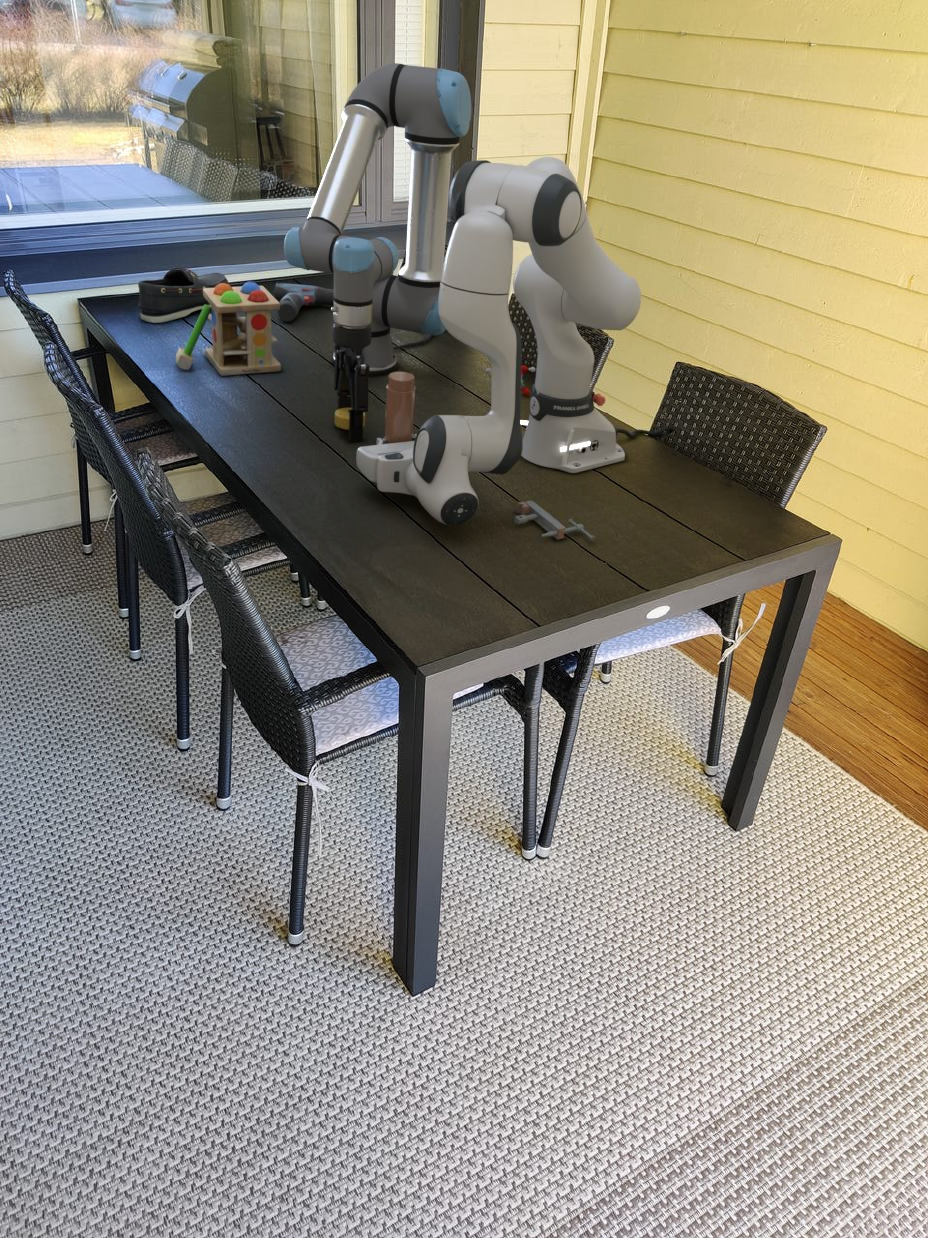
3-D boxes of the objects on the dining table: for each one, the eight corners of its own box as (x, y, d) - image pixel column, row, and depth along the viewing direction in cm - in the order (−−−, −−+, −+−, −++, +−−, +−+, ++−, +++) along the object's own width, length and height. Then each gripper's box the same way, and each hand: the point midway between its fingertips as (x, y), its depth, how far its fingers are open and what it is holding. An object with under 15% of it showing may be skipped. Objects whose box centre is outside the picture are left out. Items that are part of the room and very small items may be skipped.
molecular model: (531, 395, 220) (517, 352, 219) (493, 409, 224) (479, 367, 222) (543, 394, 231) (530, 352, 229) (507, 407, 234) (494, 366, 233)
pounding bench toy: (183, 379, 220) (176, 299, 210) (169, 357, 231) (162, 280, 221) (282, 371, 230) (280, 294, 220) (264, 350, 240) (262, 276, 230)
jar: (408, 467, 194) (414, 371, 183) (412, 479, 189) (418, 381, 178) (381, 467, 193) (385, 370, 182) (384, 479, 188) (388, 381, 177)
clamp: (504, 504, 179) (549, 495, 183) (503, 515, 180) (548, 506, 184) (550, 543, 168) (597, 532, 173) (548, 554, 169) (595, 543, 174)
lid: (331, 427, 200) (331, 417, 199) (338, 416, 205) (338, 405, 204) (362, 431, 200) (362, 420, 199) (367, 419, 205) (368, 409, 204)
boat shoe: (248, 301, 272) (246, 262, 267) (158, 325, 248) (153, 283, 243) (214, 293, 278) (211, 255, 272) (123, 315, 254) (117, 274, 248)
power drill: (335, 306, 256) (344, 285, 273) (264, 300, 255) (277, 279, 272) (335, 327, 259) (344, 304, 276) (264, 320, 258) (277, 299, 275)
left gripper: (318, 309, 197) (317, 417, 209) (351, 340, 183) (348, 454, 195) (353, 307, 200) (351, 414, 212) (388, 338, 186) (383, 450, 199)
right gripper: (477, 448, 180) (447, 418, 190) (372, 460, 172) (346, 429, 182) (474, 479, 183) (444, 448, 194) (371, 492, 175) (346, 460, 186)
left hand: (349, 433), depth 204 cm, fingers closed on lid, 6 cm apart
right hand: (396, 439), depth 188 cm, fingers closed on jar, 5 cm apart
